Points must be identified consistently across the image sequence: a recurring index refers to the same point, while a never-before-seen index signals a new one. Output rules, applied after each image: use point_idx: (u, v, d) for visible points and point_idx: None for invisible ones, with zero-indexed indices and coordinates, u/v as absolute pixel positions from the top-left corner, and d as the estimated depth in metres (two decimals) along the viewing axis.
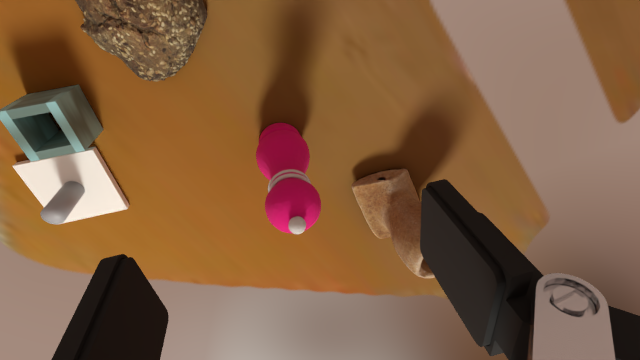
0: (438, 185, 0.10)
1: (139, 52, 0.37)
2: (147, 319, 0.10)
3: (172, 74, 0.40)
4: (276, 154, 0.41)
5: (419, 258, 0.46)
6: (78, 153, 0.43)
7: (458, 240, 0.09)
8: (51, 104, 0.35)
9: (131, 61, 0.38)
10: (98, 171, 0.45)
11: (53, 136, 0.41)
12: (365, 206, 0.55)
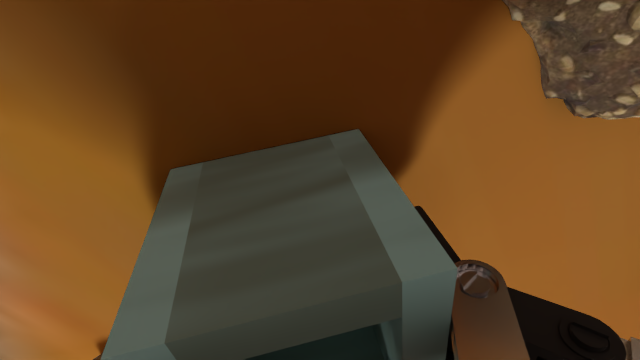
0: None
1: None
2: None
3: None
4: None
5: None
6: None
7: None
8: (428, 284, 0.06)
9: (638, 46, 0.09)
10: None
11: None
12: None
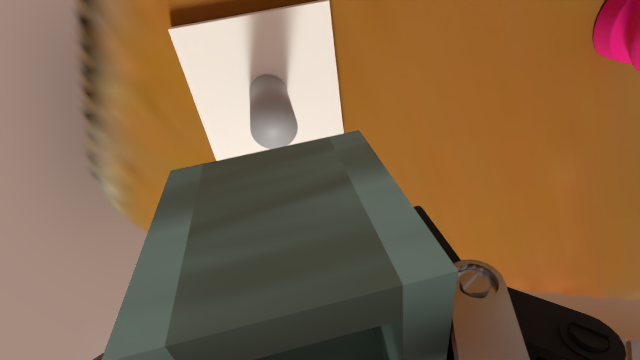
0: None
1: None
2: None
3: None
4: None
5: None
6: (300, 7, 0.21)
7: None
8: (429, 287, 0.06)
9: None
10: (323, 55, 0.23)
11: None
12: None
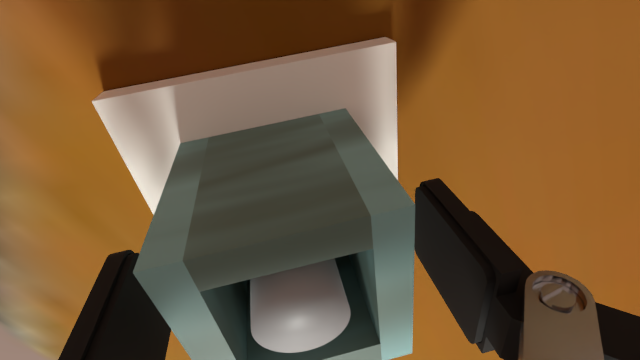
0: (431, 184, 0.10)
1: None
2: (153, 314, 0.10)
3: None
4: None
5: None
6: (343, 55, 0.11)
7: (450, 238, 0.09)
8: (392, 218, 0.07)
9: None
10: (378, 132, 0.13)
11: None
12: None
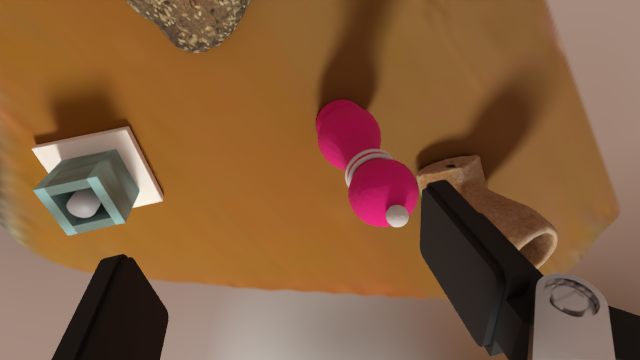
0: (438, 185, 0.10)
1: (182, 14, 0.30)
2: (147, 319, 0.10)
3: (217, 44, 0.33)
4: (348, 132, 0.34)
5: None
6: (109, 134, 0.37)
7: (458, 240, 0.09)
8: (92, 179, 0.33)
9: (170, 26, 0.31)
10: (132, 156, 0.38)
11: None
12: None
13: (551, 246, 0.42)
